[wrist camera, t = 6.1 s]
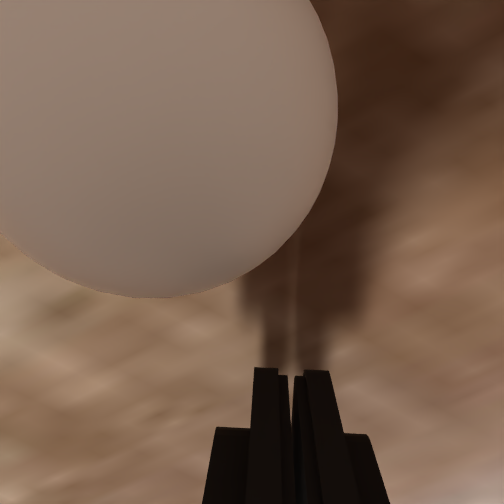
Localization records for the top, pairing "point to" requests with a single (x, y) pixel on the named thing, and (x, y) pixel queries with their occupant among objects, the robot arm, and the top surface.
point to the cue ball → (161, 136)
